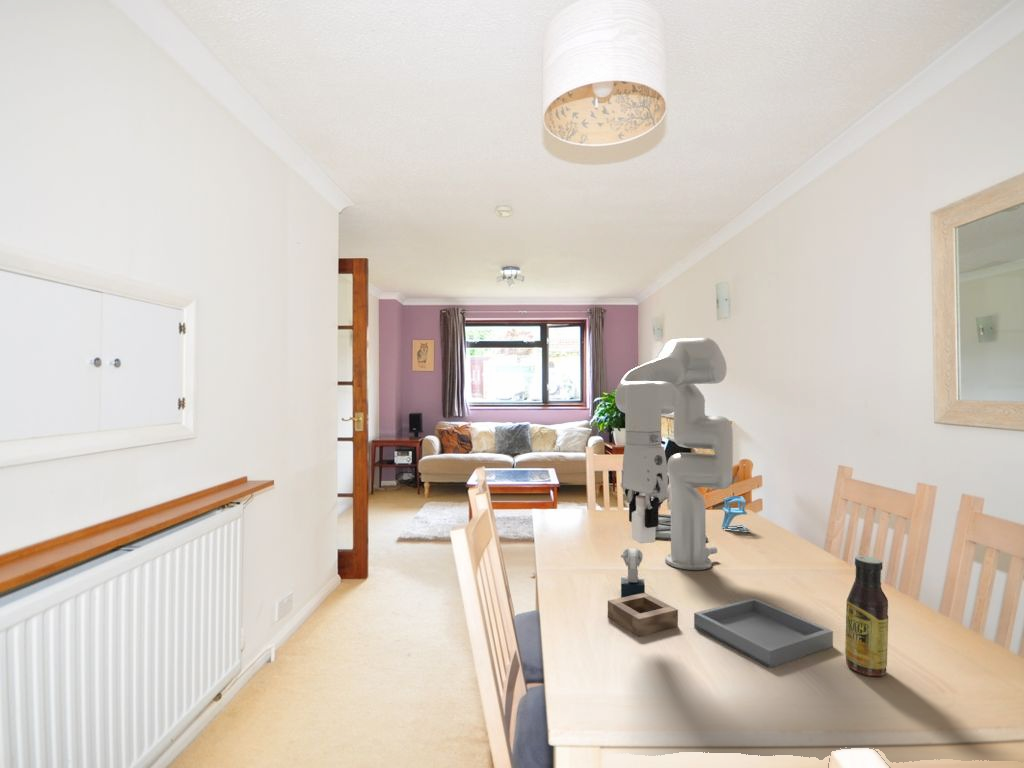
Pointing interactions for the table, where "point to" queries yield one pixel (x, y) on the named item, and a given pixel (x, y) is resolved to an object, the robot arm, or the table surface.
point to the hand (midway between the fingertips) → (643, 523)
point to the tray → (763, 631)
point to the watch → (632, 573)
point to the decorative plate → (664, 527)
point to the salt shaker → (641, 523)
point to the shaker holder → (642, 614)
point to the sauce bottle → (867, 620)
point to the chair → (733, 512)
